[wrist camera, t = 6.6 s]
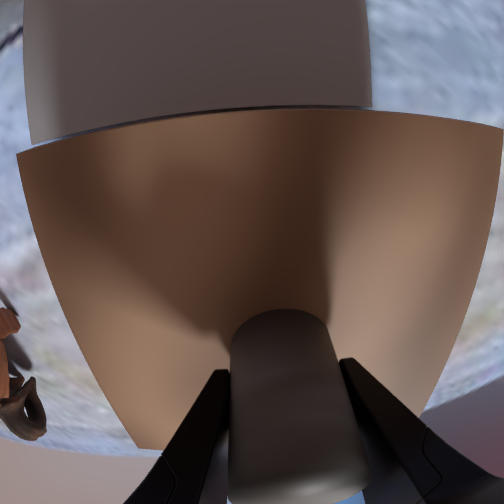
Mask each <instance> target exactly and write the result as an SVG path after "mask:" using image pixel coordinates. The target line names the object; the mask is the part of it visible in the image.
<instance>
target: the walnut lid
mask: <svg viewBox="0 0 504 504" xmlns="http://www.w3.org/2000/svg"><path fill="white" fill-rule="evenodd" d="M503 131H504V129H500V128H497V127H493V126H489V125H485V124H480V123H475V122H469V121H463V120H457V119H450V118H443V117H436V116H428V115H420V114H410V113H400V112H388V111H374V110H355V109H269V110H249V111H235V112H222V113H212V114H202V115H193V116H185V117H177V118H169V119H162V120H156V121H149V122H143V123H137V124H132V125H126V126H121V127H116V128H111V129H106V130H101V131H96V132H92V133H87V134H83V135H79V136H75V137H71V138H67V139H63V140H59V141H55V142H51V143H48V144H44V145H41V146H37V147H34V148H31V149H28V150H26V151H23V152H20V153H18V154H16V156H17V161H18V167H19V172H20V176H21V181H22V186H23V190H24V194H25V198H26V202H27V206H28V210H29V214H30V218H31V221H32V225H33V228H34V232H35V235H36V238H37V241H38V245H39V248H40V251H41V254H42V257H43V260H44V263H45V266H46V269H47V271H48V274H49V277H50V280H51V282H52V285H53V288H54V290H55V293H56V295H57V298H58V300H59V303H60V305H61V307H62V310H63V312H64V315H65V317H66V319H67V321H68V324H69V326H70V328H71V330H72V333H73V335H74V337H75V339H76V341H77V343H78V345H79V347H80V349H81V352H82V354H83V356H84V358H85V360H86V362H87V363H88V365H89V367H90V369H91V371H92V373H93V375H94V377H95V379H96V380H97V382H98V384H99V386H100V388H101V389H102V391H103V393H104V395H105V396H106V398H107V400H108V402H109V403H110V405H111V407H112V408H113V410H114V412H115V413H116V415H117V416H118V418H119V420H120V421H121V423H122V424H123V426H124V428H125V429H126V431H127V432H128V434H129V435H130V437H131V438H132V440H133V441H134V443H135V444H136V446H137V447H138V448H142V449H153V450H164V449H165V448H166V446H167V444H168V443H169V441H170V440H171V438H172V437H173V435H174V433H175V432H176V430H177V429H178V427H179V426H180V424H181V422H182V421H183V419H184V418H185V416H186V414H187V413H188V411H189V410H190V408H191V406H192V405H193V403H194V402H195V400H196V398H197V397H198V395H199V394H200V392H201V390H202V389H203V387H204V386H205V384H206V382H207V381H208V379H209V377H210V376H211V374H212V373H213V371H214V370H215V369H228V370H229V373H230V379H229V423H228V499H229V501H230V502H231V503H232V504H334V503H337V502H340V501H342V500H345V499H347V498H349V497H351V496H353V495H355V494H357V493H358V492H360V491H361V490H363V489H364V488H365V487H366V486H367V485H368V484H369V483H370V481H371V479H372V475H371V471H370V467H369V463H368V460H367V456H366V453H365V449H364V445H363V442H362V438H361V435H360V431H359V428H358V424H357V421H356V418H355V414H354V411H353V408H352V404H351V401H350V398H349V394H348V391H347V388H346V384H345V381H344V378H343V375H342V372H341V368H340V365H339V360H340V359H342V358H349V357H353V358H354V359H356V360H357V361H358V362H359V363H360V364H361V365H362V366H363V367H364V368H365V369H366V370H367V371H369V372H370V373H371V374H372V375H373V376H374V377H375V378H376V379H377V380H378V381H379V382H380V383H382V384H383V385H384V386H385V387H386V388H387V389H388V390H389V391H390V392H391V393H392V394H393V395H394V396H396V397H397V398H398V399H399V400H400V401H401V402H402V403H403V404H404V405H405V406H406V407H407V408H409V409H410V410H411V411H412V412H413V413H414V414H415V415H416V416H417V417H418V418H419V417H420V415H421V413H422V411H423V409H424V407H425V406H426V404H427V402H428V400H429V398H430V396H431V394H432V392H433V390H434V388H435V386H436V384H437V382H438V380H439V378H440V375H441V373H442V371H443V369H444V367H445V365H446V362H447V360H448V358H449V355H450V353H451V351H452V348H453V346H454V344H455V341H456V339H457V336H458V333H459V331H460V328H461V326H462V323H463V320H464V318H465V315H466V312H467V309H468V306H469V303H470V300H471V297H472V294H473V291H474V288H475V285H476V281H477V278H478V275H479V271H480V268H481V264H482V260H483V256H484V252H485V248H486V244H487V240H488V236H489V231H490V227H491V222H492V217H493V212H494V206H495V201H496V195H497V188H498V181H499V174H500V166H501V156H502V145H503Z"/></svg>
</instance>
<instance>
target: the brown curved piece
mask: <svg viewBox="0 0 504 504" xmlns="http://www.w3.org/2000/svg"><path fill="white" fill-rule="evenodd" d="M20 327H21V325H20V323H19V321H18V319H17V318H16V316H15V314H14V312H13V311H12V310H11V309H5V308H3V307H2V308H0V418H1V419H2V420H3V422H4V423H5V424H6V426H7V427H8V428H9V430H10V431H11V432H13V433H14V434H15V435H17V436H18V437H19V438H21V439H24V440H28V441H35V440H37V439H38V438H39V437H41V436H43V435H44V434H45V433H46V432H47V430H46V415H45V411H44V408H43V405H42V403H41V401H40V399H39V397H38V395H37V392H36V378H34V377H32V376H31V378H30V379H29V380H28V381H27V382H26V383H25V384H24V385H23V382H24V380H25V379H24V377H23V376H21V377H17V378H11V377H9V374H8V362H7V354H6V350H5V346H4V342H3V340H2V339H4V338H5V337H7V336H8V335H9V334H11V333H17V332H18V331H19V329H20ZM22 385H23V386H22ZM24 407H25V408H26V411H27V415H28V417H27V416H26V414H25V412H24Z"/></svg>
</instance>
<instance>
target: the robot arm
mask: <svg viewBox="0 0 504 504" xmlns="http://www.w3.org/2000/svg"><path fill="white" fill-rule="evenodd" d="M339 365H340V368H341V372H342V375H343V378H344V381H345V384H346V388H347V391H348V394H349V398H350V401H351V404H352V408H353V411H354V414H355V418H356V421H357V424H358V428H359V431H360V435H361V438H362V442H363V445H364V449H365V453H366V456H367V460H368V463H369V467H370V471H371V475H372V479H371V481H370V483H369V484H368V485H367V486H366V487H365V488H364V489H363V490H362V492H363V496H364V500H365V504H504V478H502V477H498V476H495V475H493V474H491V473H489V472H487V471H485V470H484V469H483V468H481V467H480V466H478V465H477V464H475V463H474V462H472V461H471V460H470V459H468V458H467V457H465V456H464V455H462V454H461V453H459V452H458V451H457V450H455V449H454V448H453V447H452V446H450V445H449V444H448V443H446V442H445V441H444V440H443V439H442V438H441V437H439V436H438V435H437V434H436V433H435V432H434V431H433V430H432V429H430V428H429V427H427V425H426V424H425V423H424V422H423V421H421V419H419V418H418V417H417V416H416V415H415V414H414V413H413V412H412V411H411V410H410V409H409V408H407V407H406V406H405V405H404V404H403V403H402V402H401V401H400V400H399V399H398V398H397V397H396V396H394V395H393V394H392V393H391V392H390V391H389V390H388V389H387V388H386V387H385V386H384V385H383V384H382V383H380V382H379V381H378V380H377V379H376V378H375V377H374V376H373V375H372V374H371V373H370V372H369V371H367V370H366V369H365V368H364V367H363V366H362V365H361V364H360V363H359V362H358V361H357V360H356V359H354V358H353V357H349V358H342V359H340V360H339ZM229 379H230V373H229V370H228V369H215V370H214V371H213V373H212V374H211V376H210V377H209V379H208V381H207V382H206V384H205V386H204V387H203V389H202V390H201V392H200V394H199V395H198V397H197V398H196V400H195V402H194V403H193V405H192V406H191V408H190V410H189V411H188V413H187V414H186V416H185V418H184V419H183V421H182V422H181V424H180V426H179V427H178V429H177V430H176V432H175V433H174V435H173V437H172V438H171V440H170V441H169V443H168V444H167V446H166V448H165V449H164V451H163V452H162V454H161V456H160V457H159V458H158V460H157V461H156V463H155V464H154V466H153V468H152V469H151V470H150V472H149V473H148V474H147V476H146V477H145V479H144V480H143V481H142V482H141V484H140V485H139V486H138V487H137V488H136V490H135V491H134V492H133V493H132V494H131V496H129V498H128V499H127V500H126V501H125V502H124V503H123V504H227V496H228V423H229Z"/></svg>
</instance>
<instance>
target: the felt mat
mask: <svg viewBox="0 0 504 504" xmlns="http://www.w3.org/2000/svg"><path fill="white" fill-rule="evenodd" d="M23 64H24V82H25V95H26V105H27V114H28V122H29V130H30V137H31V143H32V145H34V144H37V143H40V142H44V141H47V140H51V139H55V138H58V137H62V136H66V135H70V134H74V133H78V132H82V131H86V130H91V129H95V128H99V127H104V126H109V125H114V124H119V123H124V122H129V121H135V120H140V119H146V118H152V117H159V116H166V115H173V114H180V113H188V112H196V111H205V110H215V109H227V108H240V107H255V106H278V105H344V106H366V107H372V88H371V63H370V47H369V33H368V22H367V12H366V3H365V0H24V16H23Z"/></svg>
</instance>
